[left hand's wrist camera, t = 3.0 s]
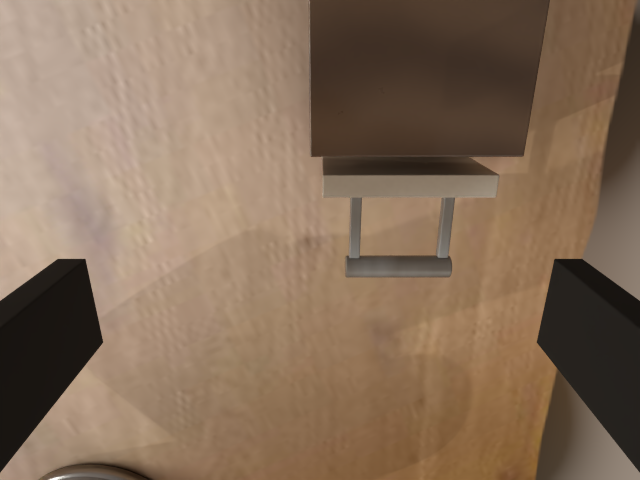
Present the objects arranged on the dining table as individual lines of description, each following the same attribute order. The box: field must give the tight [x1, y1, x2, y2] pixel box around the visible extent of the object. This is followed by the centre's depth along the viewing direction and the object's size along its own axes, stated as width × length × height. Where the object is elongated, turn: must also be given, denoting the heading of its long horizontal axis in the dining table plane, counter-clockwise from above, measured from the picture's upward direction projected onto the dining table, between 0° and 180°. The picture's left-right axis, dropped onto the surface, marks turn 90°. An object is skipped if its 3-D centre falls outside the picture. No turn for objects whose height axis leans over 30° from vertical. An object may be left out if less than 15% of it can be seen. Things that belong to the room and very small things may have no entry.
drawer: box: [322, 157, 499, 277], centre depth 24 cm, size 22×9×7 cm, turn 0°
